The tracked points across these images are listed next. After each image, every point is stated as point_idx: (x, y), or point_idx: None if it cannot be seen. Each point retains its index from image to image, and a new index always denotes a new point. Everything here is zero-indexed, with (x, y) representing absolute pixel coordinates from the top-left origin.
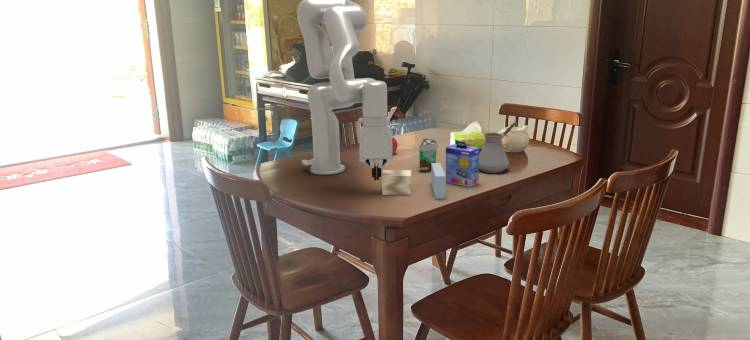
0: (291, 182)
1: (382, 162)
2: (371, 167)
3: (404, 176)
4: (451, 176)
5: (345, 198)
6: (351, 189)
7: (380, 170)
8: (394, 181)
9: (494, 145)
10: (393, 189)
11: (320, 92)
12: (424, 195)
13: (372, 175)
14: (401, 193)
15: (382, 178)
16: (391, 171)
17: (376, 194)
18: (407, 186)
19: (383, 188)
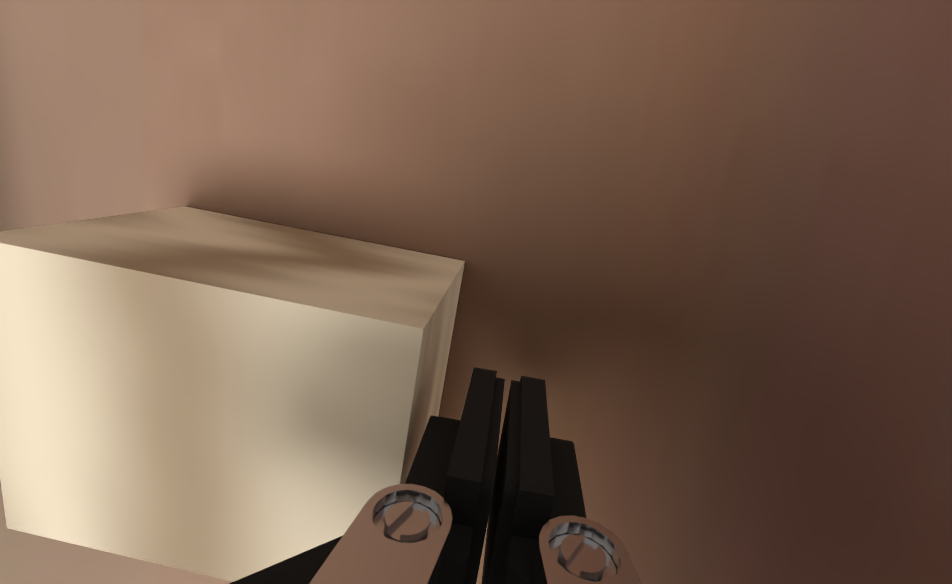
0: None
1: (314, 577)
2: (604, 533)
3: (75, 254)
4: None
5: (888, 218)
6: (738, 493)
7: (421, 476)
8: (272, 268)
9: None
10: (333, 250)
11: None
12: (64, 155)
13: (564, 449)
14: (272, 226)
15: (425, 316)
16: (264, 532)
17: (522, 286)
18: (158, 224)
19: (441, 275)
